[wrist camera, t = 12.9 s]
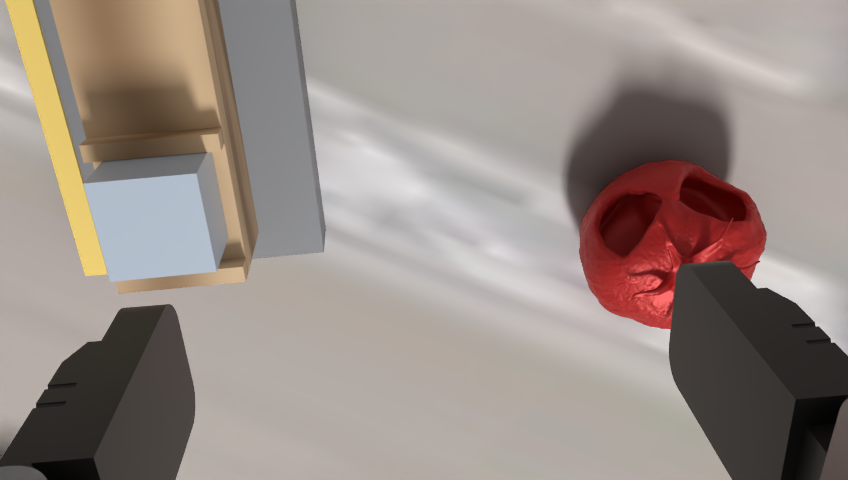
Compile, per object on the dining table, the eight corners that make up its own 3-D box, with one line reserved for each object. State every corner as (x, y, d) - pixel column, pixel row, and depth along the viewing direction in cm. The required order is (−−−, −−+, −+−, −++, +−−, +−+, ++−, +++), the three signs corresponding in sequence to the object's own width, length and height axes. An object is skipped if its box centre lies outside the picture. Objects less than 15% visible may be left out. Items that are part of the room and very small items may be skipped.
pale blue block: (211, 145, 35) (196, 173, 32) (228, 236, 37) (216, 271, 34) (108, 154, 35) (83, 183, 32) (131, 245, 37) (110, 282, 34)
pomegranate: (727, 270, 49) (806, 353, 41) (576, 306, 49) (624, 397, 41) (723, 125, 45) (810, 187, 37) (555, 165, 45) (605, 236, 37)
